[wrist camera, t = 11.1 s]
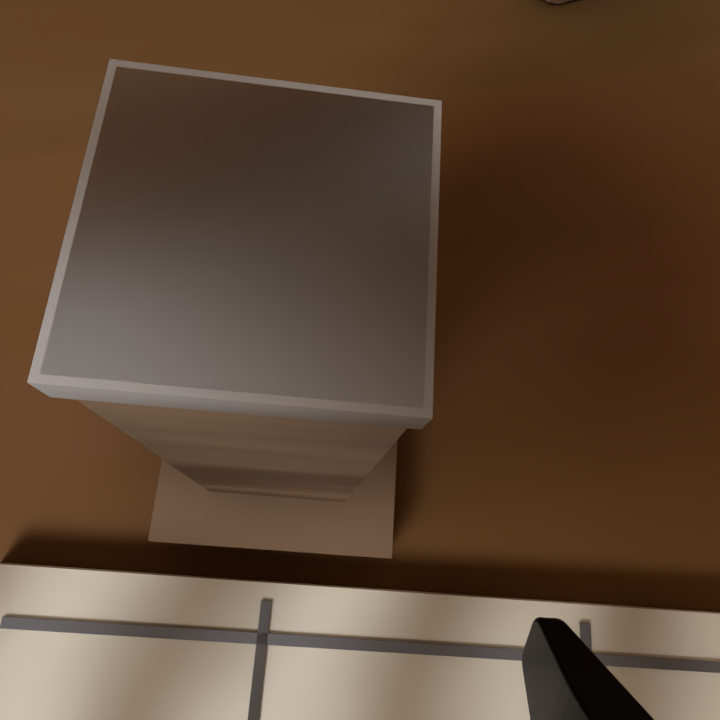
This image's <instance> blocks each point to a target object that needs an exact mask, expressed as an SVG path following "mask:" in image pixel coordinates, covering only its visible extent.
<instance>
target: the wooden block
mask: <svg viewBox="0 0 720 720" xmlns="http://www.w3.org/2000/svg"><path fill="white" fill-rule="evenodd" d="M545 1H546V2H548V3H554V4H562V3H565V2H569V1H573V0H545Z"/></svg>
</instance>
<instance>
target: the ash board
mask: <svg viewBox="0 0 720 720" xmlns="http://www.w3.org/2000/svg"><path fill="white" fill-rule="evenodd" d="M537 617H547V618H558V619H561V620H563V621H564V622H565V623H566V624H567V625H568V626H569V627H570V628H571V629H572V630H573V631H574V632H575V634H576V635H577V636H578V637H579V638H580V639H581V640H582V641H583V642H584V643H585V644H586V646H587V647H588V648H589V649H590V650H591V651H592V652H593V653H594V654H595V655H596V656H597V658H598V659H599V660H600V661H601V662H602V663H603V664H604V665H605V666H606V667H607V669H608V670H609V671H610V672H611V673H612V674H613V675H614V676H615V677H616V678H617V679H618V681H619V682H620V683H621V684H622V685H623V686H624V687H625V688H626V689H627V690H628V691H629V693H630V694H631V695H632V696H633V697H634V698H635V699H636V700H637V701H638V702H639V703H640V705H641V706H642V707H643V708H644V709H645V710H646V711H647V712H648V713H649V714H650V716H651V717H652V718H653V719H654V720H720V612H710V611H695V610H681V609H666V608H652V607H637V606H623V605H609V604H594V603H580V602H565V601H551V600H537V599H522V598H508V597H493V596H479V595H464V594H450V593H435V592H421V591H407V590H392V589H378V588H363V587H349V586H335V585H320V584H306V583H291V582H277V581H262V580H248V579H234V578H219V577H205V576H190V575H176V574H161V573H147V572H133V571H118V570H104V569H89V568H75V567H60V566H46V565H32V564H17V563H3V562H0V720H530V714H529V708H528V701H527V695H526V688H525V682H524V675H523V669H522V654H523V649H524V646H525V644H526V641H527V638H528V635H529V632H530V629H531V626H532V623H533V621H534V620H535V619H536V618H537Z"/></svg>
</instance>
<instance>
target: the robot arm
mask: <svg viewBox="0 0 720 720" xmlns="http://www.w3.org/2000/svg"><path fill="white" fill-rule="evenodd" d="M522 669H523V675H524V682H525V688H526V695H527V701H528V708H529V714H530V720H654V719H653V718H652V717H651V716H650V714H649V713H648V712H647V711H646V710H645V709H644V708H643V707H642V706H641V705H640V703H639V702H638V701H637V700H636V699H635V698H634V697H633V696H632V695H631V694H630V693H629V691H628V690H627V689H626V688H625V687H624V686H623V685H622V684H621V683H620V682H619V681H618V679H617V678H616V677H615V676H614V675H613V674H612V673H611V672H610V671H609V670H608V669H607V667H606V666H605V665H604V664H603V663H602V662H601V661H600V660H599V659H598V658H597V656H596V655H595V654H594V653H593V652H592V651H591V650H590V649H589V648H588V647H587V646H586V644H585V643H584V642H583V641H582V640H581V639H580V638H579V637H578V636H577V635H576V634H575V632H574V631H573V630H572V629H571V628H570V627H569V626H568V625H567V624H566V623H565V622H564V621H563V620H561V619H558V618H547V617H537V618H536V619H535V620H534V621H533V623H532V626H531V629H530V632H529V635H528V638H527V641H526V644H525V646H524V649H523V654H522Z"/></svg>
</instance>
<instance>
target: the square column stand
mask: <svg viewBox="0 0 720 720" xmlns="http://www.w3.org/2000/svg"><path fill="white" fill-rule="evenodd" d="M441 117H442V101H439V100H431V99H423V98H415V97H407V96H399V95H391V94H383V93H376V92H368V91H360V90H352V89H344V88H336V87H328V86H320V85H312V84H304V83H296V82H288V81H280V80H272V79H265V78H257V77H249V76H241V75H233V74H225V73H217V72H209V71H201V70H193V69H185V68H177V67H169V66H162V65H154V64H146V63H138V62H130V61H122V60H114V59H110V60H109V64H108V68H107V72H106V76H105V80H104V84H103V88H102V92H101V95H100V99H99V103H98V107H97V111H96V115H95V119H94V123H93V127H92V131H91V135H90V139H89V142H88V146H87V150H86V154H85V158H84V162H83V166H82V170H81V174H80V178H79V182H78V186H77V189H76V193H75V197H74V201H73V205H72V209H71V213H70V217H69V221H68V225H67V229H66V233H65V236H64V240H63V244H62V248H61V252H60V256H59V260H58V264H57V268H56V272H55V276H54V280H53V284H52V287H51V291H50V295H49V299H48V303H47V307H46V311H45V315H44V319H43V323H42V327H41V331H40V334H39V338H38V342H37V346H36V350H35V354H34V358H33V362H32V366H31V370H30V374H29V378H28V381H27V383H29V384H30V385H32V386H33V387H35V388H37V389H38V390H40V391H41V392H43V393H45V394H46V395H48V396H49V397H53V398H65V399H76V400H78V401H79V402H81V403H82V404H84V405H85V406H86V407H88V408H89V409H91V410H92V411H94V412H95V413H96V414H98V415H99V416H101V417H102V418H104V419H105V420H107V421H108V422H109V423H111V424H112V425H114V426H115V427H117V428H118V429H120V430H121V431H122V432H124V433H125V434H127V435H128V436H130V437H131V438H133V439H134V440H135V441H137V442H138V443H140V444H141V445H143V446H144V447H146V448H147V449H148V450H150V451H151V452H153V453H154V454H156V455H157V456H159V457H160V458H161V459H162V462H161V468H160V474H159V479H158V485H157V491H156V497H155V502H154V508H153V514H152V520H151V526H150V531H149V537H148V541H153V542H165V543H179V544H193V545H207V546H220V547H234V548H248V549H262V550H276V551H290V552H304V553H318V554H332V555H346V556H360V557H374V558H391V559H392V546H393V525H394V504H395V483H396V462H397V442H398V438H399V437H400V436H401V435H402V434H403V432H404V431H405V430H406V429H407V428H409V429H420V430H422V429H423V428H424V427H425V426H426V425H427V424H428V423H429V422H430V421H431V420H432V419H433V387H434V353H435V319H436V286H437V252H438V218H439V184H440V151H441Z"/></svg>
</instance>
